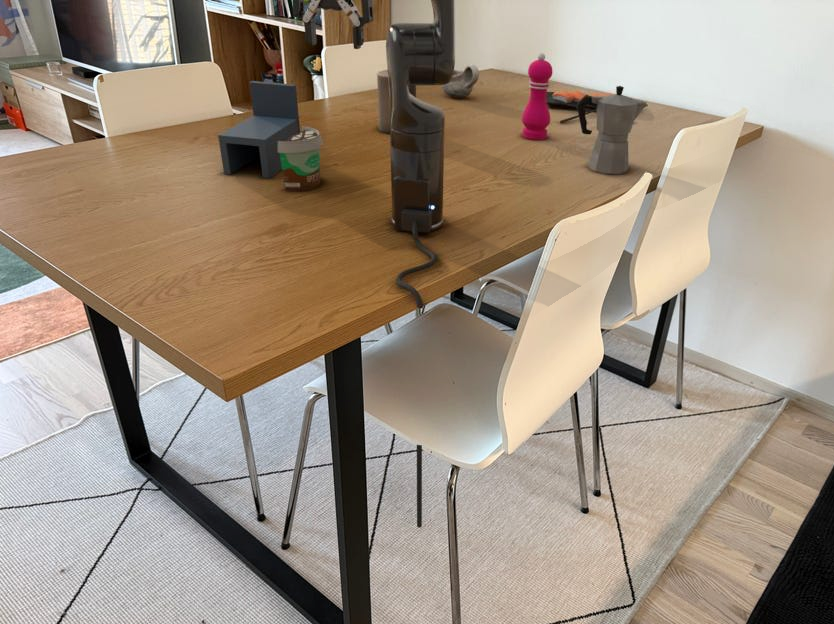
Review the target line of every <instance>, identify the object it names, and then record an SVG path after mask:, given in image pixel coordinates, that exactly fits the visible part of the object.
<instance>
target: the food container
mask: <svg viewBox="0 0 834 624" xmlns="http://www.w3.org/2000/svg"><path fill="white" fill-rule="evenodd" d="M323 145H324V142H323V138H322V135H321V134H320V131H319V130H318V129H316V128H313V127H309V126H304V125H302V126H301V130H300V133H299V134H297V135H293V136H291V137H290V138H289V139H288V140H287V141H278V152H279V153H280V159H281V165H282V169H281V171H282V176H283V182H284V189H285V190H284V191H287V192H289V191H290V192H292V191H293V192H300V191H307V190H312V189H315V188H317V187H319V186H320V185H321V147H323Z"/></svg>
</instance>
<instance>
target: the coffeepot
mask: <svg viewBox="0 0 834 624" xmlns="http://www.w3.org/2000/svg"><path fill="white" fill-rule="evenodd" d="M624 89H625V87H624V86H622V85H617V86H615V94H613V95H607V96H601V97H598V96H584V97H583V98H582V99H581V100H580V101H579V102H578V103H577V109H576V110H577V115H579V117H578V120H579V123H580V129H581V134H583V135H592V133H593V130H590V129H588V128H587V126H588V121H587V117H586V115H585V113H586V110H585V108H584V106H585V105H592V106H597V113H596V130H597V131H598V132H597V138H596V139H595V142H594V145H593V147H592V151H591V155H590V158H589V160H588V164H587V167H588V168H589V169H590V170H592V171H593V172H596V173H599V174H604V175H621V174H625V173H627V171H628V169H629V141H628V139H629V134H630V133H631V132H632V129H633V126H634V122H635V121H636V119H637V118H638V116H639V115H640V114H641V112H642V111H643V110H644V109H645V108H646V107H648V106H649V104H648V103H647V102H646V101H643V100H641V99H637V98H632V97H629V96H627V95H623V91H624Z"/></svg>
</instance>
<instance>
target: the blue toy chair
mask: <svg viewBox="0 0 834 624" xmlns="http://www.w3.org/2000/svg"><path fill="white" fill-rule="evenodd" d="M248 84H249V92H250V99H251V100H250V101H251V108H252V114H253V115H252V116H250V117H248V118H245V120H243V121H241V122H239V123H237V124H236V125H234V126H232V127H230V128H228V129H226V130H224V131H222V132H221V133H218V135H217V138H218V144H219V150H220V158H221V164H222V171H223V174H224V175H232V174H234V173H235V172H236V171H238V170H240V169H241V168H243V167H244V166H246V165H247V164H248V163H250V162H251V161H253V160H255V159H256V158H257V157H259V158H260V165H261V166H260V167H261V174H262V179H271V178H273V177H274V176H275V175H276V174H278V173H279V172H281V171H282V165H281V159H280V153H279V152H278V141H287V140H288V139H289V138H290V137H291V136H293V135H297V134H299V133H300V132H301V126H300V125H301V124H300V116H299V105H298V103H299V102H298V93H297V85H296V84H294V83H293V84H292V83H283V82H281V83H280V82H270V81H269V82H268V81H258V80H251V81H249V83H248Z"/></svg>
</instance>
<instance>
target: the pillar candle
mask: <svg viewBox="0 0 834 624" xmlns="http://www.w3.org/2000/svg"><path fill="white" fill-rule="evenodd" d="M376 82H377V83H376V85H377V110H378V111H377V112H378V130H379V131H380V132H383V133H385V134H390V104H389V81H388V69H384V70H379V71H377V72H376ZM409 92H410V94H411V95H413V96H414V97H415V98H417V85H410V86H409Z"/></svg>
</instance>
